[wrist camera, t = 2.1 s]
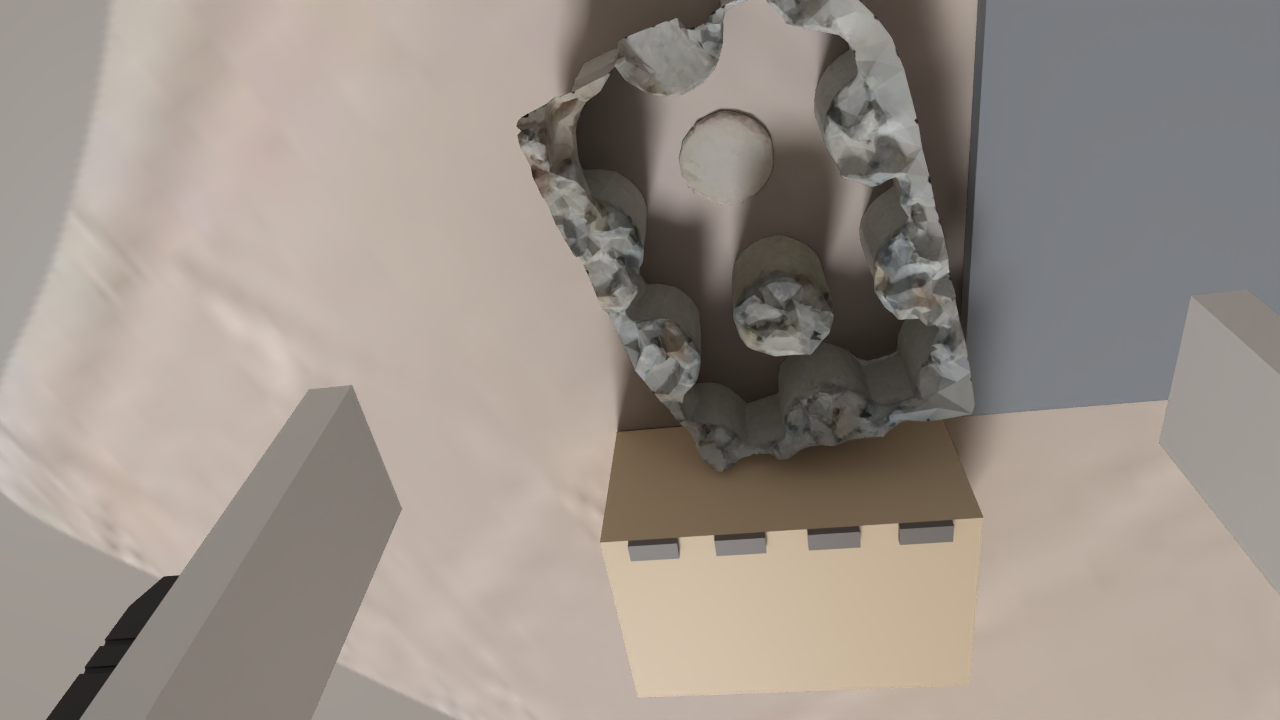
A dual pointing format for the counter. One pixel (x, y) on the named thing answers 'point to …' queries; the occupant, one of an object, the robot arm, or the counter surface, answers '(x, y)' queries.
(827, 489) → the sleeve
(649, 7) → the counter surface
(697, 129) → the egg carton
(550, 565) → the counter surface
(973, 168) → the mat
